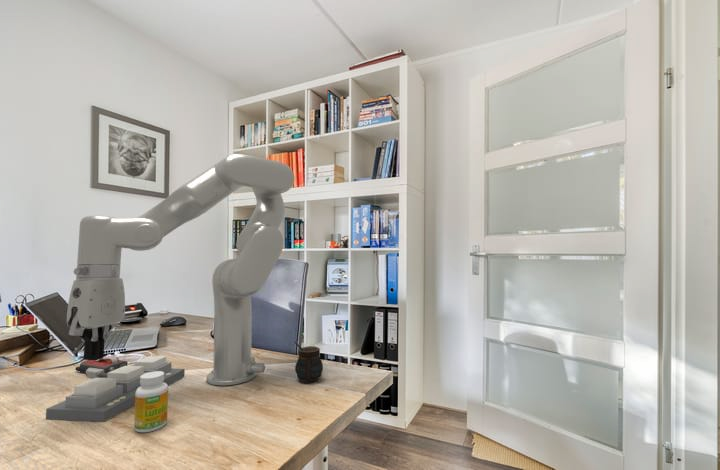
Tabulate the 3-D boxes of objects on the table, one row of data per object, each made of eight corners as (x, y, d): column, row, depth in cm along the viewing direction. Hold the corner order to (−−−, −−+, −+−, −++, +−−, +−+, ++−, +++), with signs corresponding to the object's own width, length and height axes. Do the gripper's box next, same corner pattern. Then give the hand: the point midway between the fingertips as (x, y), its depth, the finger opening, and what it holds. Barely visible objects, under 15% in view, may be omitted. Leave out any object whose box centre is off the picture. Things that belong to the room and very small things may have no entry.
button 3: (115, 387, 74) (116, 378, 74) (95, 397, 69) (95, 387, 69) (95, 386, 74) (95, 377, 74) (73, 396, 69) (74, 386, 69)
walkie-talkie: (66, 376, 93) (116, 384, 87) (66, 360, 94) (116, 367, 87) (99, 366, 102) (147, 373, 95) (100, 351, 102) (148, 357, 95)
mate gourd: (323, 384, 84) (323, 344, 85) (293, 386, 83) (293, 345, 84) (322, 374, 92) (322, 337, 92) (294, 376, 90) (294, 338, 91)
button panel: (184, 376, 91) (184, 361, 91) (103, 422, 66) (104, 401, 66) (140, 374, 92) (141, 360, 93) (45, 418, 68) (46, 398, 68)
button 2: (143, 374, 82) (143, 366, 82) (126, 382, 77) (127, 373, 77) (124, 374, 82) (125, 365, 82) (107, 381, 77) (107, 372, 77)
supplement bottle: (142, 436, 61) (144, 381, 61) (128, 428, 64) (130, 376, 64) (172, 423, 65) (173, 372, 66) (158, 416, 68) (159, 368, 69)
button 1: (166, 364, 90) (166, 356, 90) (152, 370, 85) (152, 362, 85) (148, 363, 90) (149, 356, 90) (134, 369, 85) (134, 361, 85)
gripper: (82, 274, 65) (75, 371, 64) (140, 271, 80) (136, 350, 79) (48, 274, 66) (41, 369, 65) (112, 271, 81) (107, 349, 79)
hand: (93, 358), depth 72 cm, fingers closed
